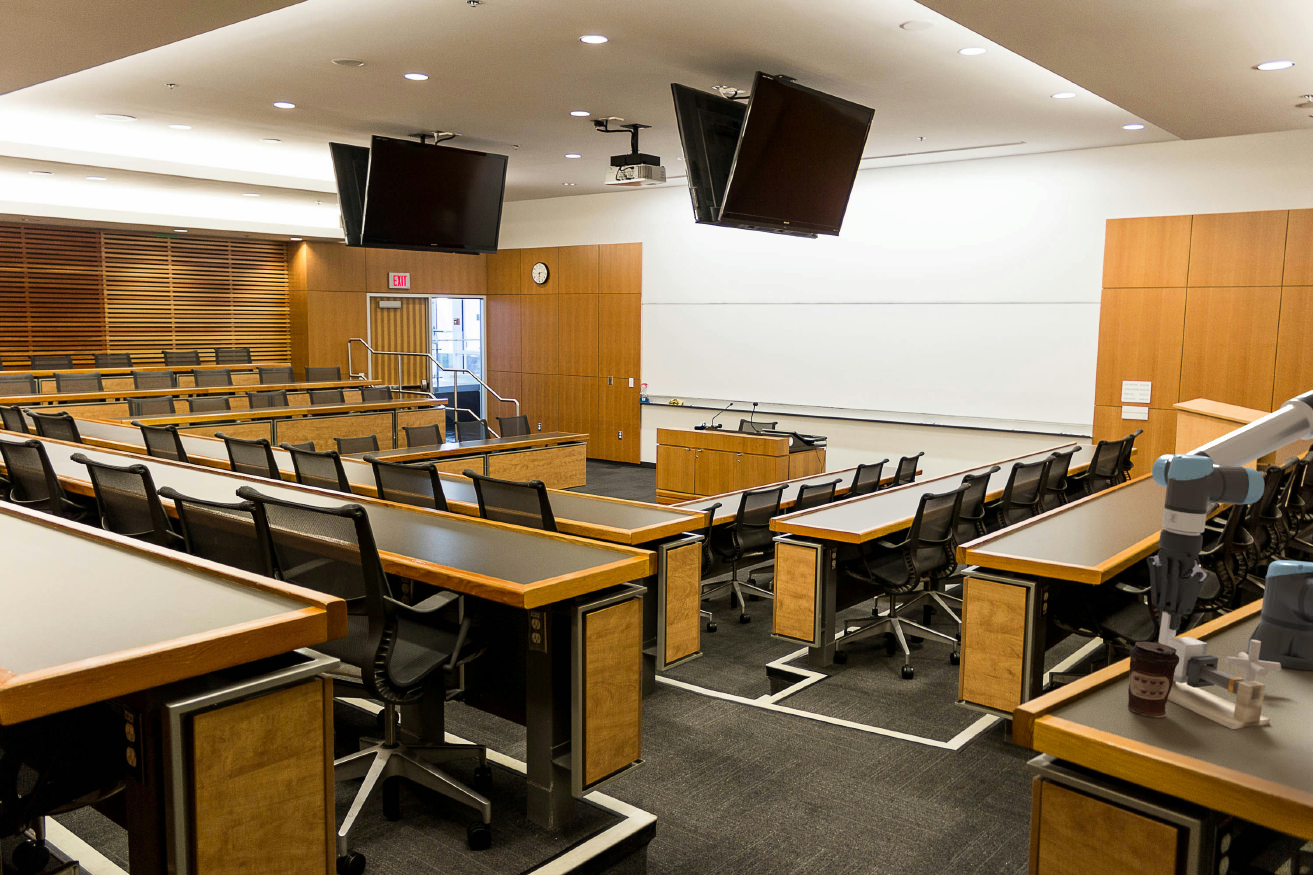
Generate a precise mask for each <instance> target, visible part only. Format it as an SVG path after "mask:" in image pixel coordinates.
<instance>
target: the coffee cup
mask: <svg viewBox="0 0 1313 875" xmlns="http://www.w3.org/2000/svg"><path fill="white" fill-rule="evenodd" d="M1134 644H1135V645H1134V646H1132V647H1131V648H1130V650H1129V656H1130V657H1129V672H1128V675H1129V676H1128V677H1129V679H1128V680H1129V683H1128V688H1127V689H1128V690H1127V692H1128V693H1127V694H1128V703H1127V708H1128V709H1129V710H1130V711H1132V712H1134V713H1136V714H1139V715H1142V716H1146V717H1151V718H1152V717H1153V718H1164V717H1166V714H1167V713H1166V704H1167V702H1168V695H1169V693H1170V691H1171V688H1172V684H1173V679H1174V673H1175V668H1176V666H1177V665H1178V663H1179V656H1178V655H1176V651H1177V650H1176V649H1175V648H1172V647H1170V646H1167V645H1164V644H1161V643H1159V642H1154V641H1153V642H1150V641H1136V642H1135V643H1134Z"/></svg>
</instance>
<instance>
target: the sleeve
mask: <svg viewBox="0 0 1313 875" xmlns="http://www.w3.org/2000/svg"><path fill="white" fill-rule="evenodd" d="M1167 646H1170V647H1172V648H1175V649H1176V650H1177V651H1176V655H1178V656H1179V663H1178V665H1177V666H1176V668H1175V673H1174V679H1173V680H1174V681H1176V682H1179V683H1187V680H1188V673H1187V665H1188V660H1190V659H1191V657H1199V656H1207V649H1208V642H1204V641H1201V640H1199V639H1197V638H1194V637H1192V636H1183V637H1182V636H1181V637H1175V638H1170V639H1168V644H1167ZM1204 665H1206V664H1204Z"/></svg>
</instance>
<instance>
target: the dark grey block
mask: <svg viewBox="0 0 1313 875" xmlns="http://www.w3.org/2000/svg"><path fill="white" fill-rule="evenodd" d="M1218 663H1219V657H1216V656H1213V655H1206V656H1199V657H1191V659H1190V666H1189V673H1188V680H1187V685H1189V686H1191V687H1194V688H1196V687H1197V688H1203V687H1212V686H1215V684H1213V683H1210V682H1208V681H1206V680H1203V679H1201V678H1199V675H1200V668H1201V665H1204V664H1205V665H1207V666H1209V667H1212V668H1214V669H1217V670H1218Z"/></svg>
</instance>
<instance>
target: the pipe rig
mask: <svg viewBox="0 0 1313 875" xmlns="http://www.w3.org/2000/svg"><path fill="white" fill-rule="evenodd" d="M1189 666H1190V660H1188V665H1187V673H1189ZM1199 678H1201V679H1203V680H1206V681H1208V682H1210V683H1213V684H1214V686H1218V687H1220V688H1223V689H1225V690H1227V692H1228V693H1231V694H1236V700H1235V702H1232V701H1229V700H1227V699H1225V698H1223V697H1220V696H1218V695H1215V694H1214V693H1211V692H1208V691H1206V690H1203V689H1201V688H1200V687H1196V688H1194V687H1191V686H1189V685H1187V683H1179V682H1176V681H1174V680H1173V684H1172V688H1171V691H1170V693H1169V695H1168V699H1167V701H1170V702H1172V703H1174V704H1177V705H1179V706H1180V707H1183V708H1185V709H1188V710H1189V711H1192V712H1194V713H1197V714H1198V715H1200V716H1203V717H1205V718H1207V719H1209V720H1211V721H1214V722H1216V723H1218V724H1220V725H1222V726H1224V727H1227V728H1229V729H1231V730H1234V729H1235V730H1236V729H1237V730H1238V729H1242V728H1243V729H1244V728H1251V727H1258V726H1266V725H1269V724H1270V720H1271V719H1270V718H1269V717H1267V716H1264V715H1262V710H1263V708H1262V707H1263V703H1264V696H1265V689H1266V684H1264V683H1262V682H1259V681H1257V680H1255V681H1248V682H1247V681H1245V678H1244V677H1240V676H1234V675H1231V674H1229V673H1226V672H1224V671H1222V670H1219V669H1218V668H1217V669H1214V668H1212V667H1209V666H1207V665H1206V664H1205V665H1201V668H1200V675H1199Z"/></svg>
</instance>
